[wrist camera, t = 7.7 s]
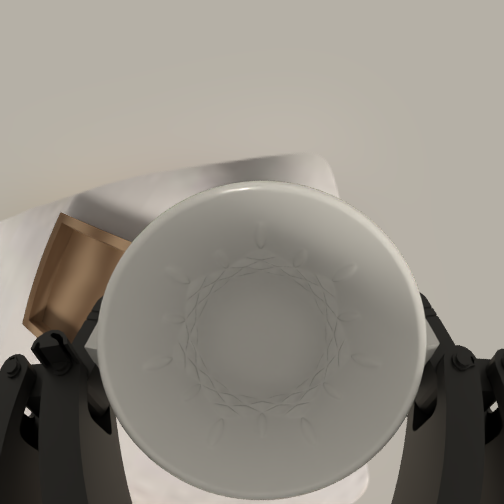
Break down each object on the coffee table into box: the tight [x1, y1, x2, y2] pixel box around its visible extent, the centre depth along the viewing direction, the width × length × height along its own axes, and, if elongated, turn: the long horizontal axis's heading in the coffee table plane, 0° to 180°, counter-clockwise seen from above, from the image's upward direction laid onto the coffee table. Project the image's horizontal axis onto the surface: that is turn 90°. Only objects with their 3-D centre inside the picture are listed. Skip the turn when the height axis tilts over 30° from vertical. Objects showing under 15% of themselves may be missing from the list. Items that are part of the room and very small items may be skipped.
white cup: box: [97, 181, 427, 500], centre depth 10 cm, size 8×8×10 cm
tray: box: [22, 213, 132, 344], centre depth 24 cm, size 14×14×4 cm
